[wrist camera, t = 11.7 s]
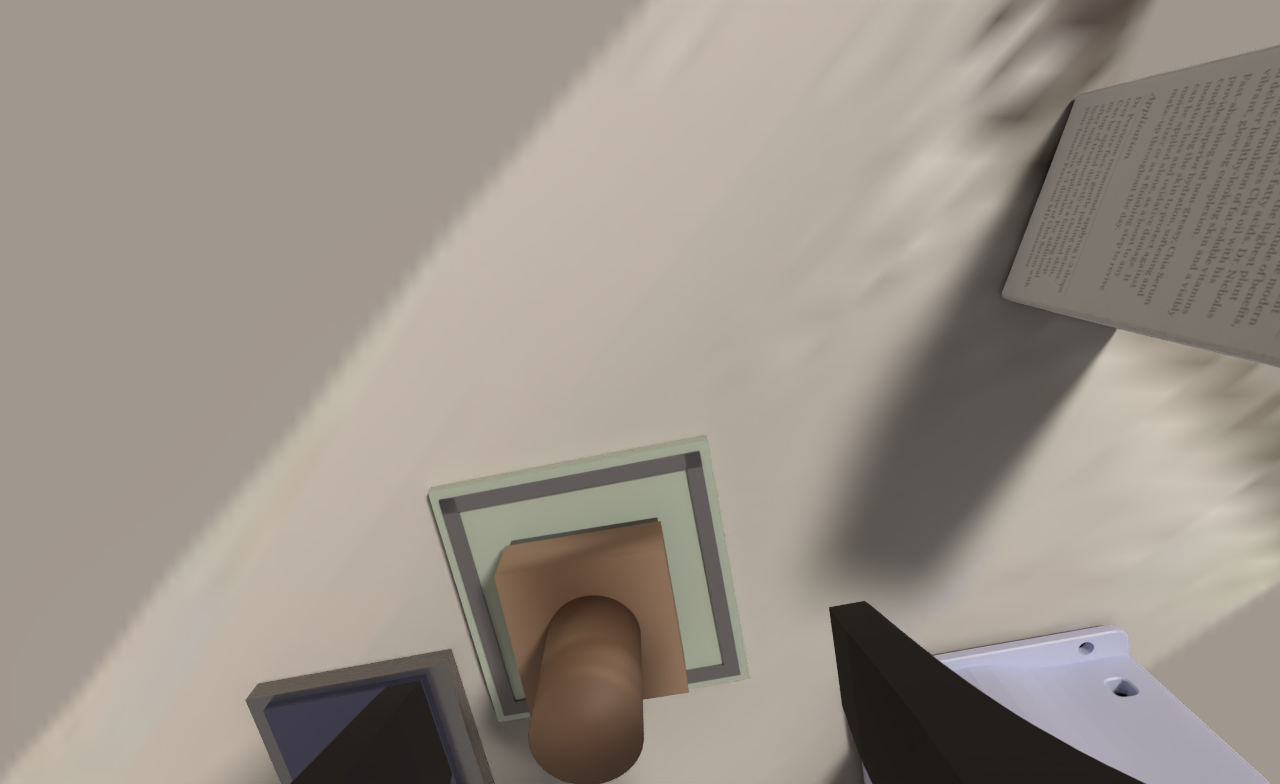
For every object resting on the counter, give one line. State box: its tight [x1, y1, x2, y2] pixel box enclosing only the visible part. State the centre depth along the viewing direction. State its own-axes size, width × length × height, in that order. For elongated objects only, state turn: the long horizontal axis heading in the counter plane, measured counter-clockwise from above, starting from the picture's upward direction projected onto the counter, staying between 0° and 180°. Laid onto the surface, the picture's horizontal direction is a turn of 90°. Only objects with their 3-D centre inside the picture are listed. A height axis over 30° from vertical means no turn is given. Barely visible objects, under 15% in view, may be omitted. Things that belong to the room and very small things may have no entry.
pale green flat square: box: [428, 436, 750, 722], centre depth 22 cm, size 9×9×1 cm
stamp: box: [494, 517, 689, 784], centre depth 19 cm, size 5×5×6 cm
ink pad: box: [246, 649, 494, 784], centre depth 24 cm, size 7×7×1 cm
